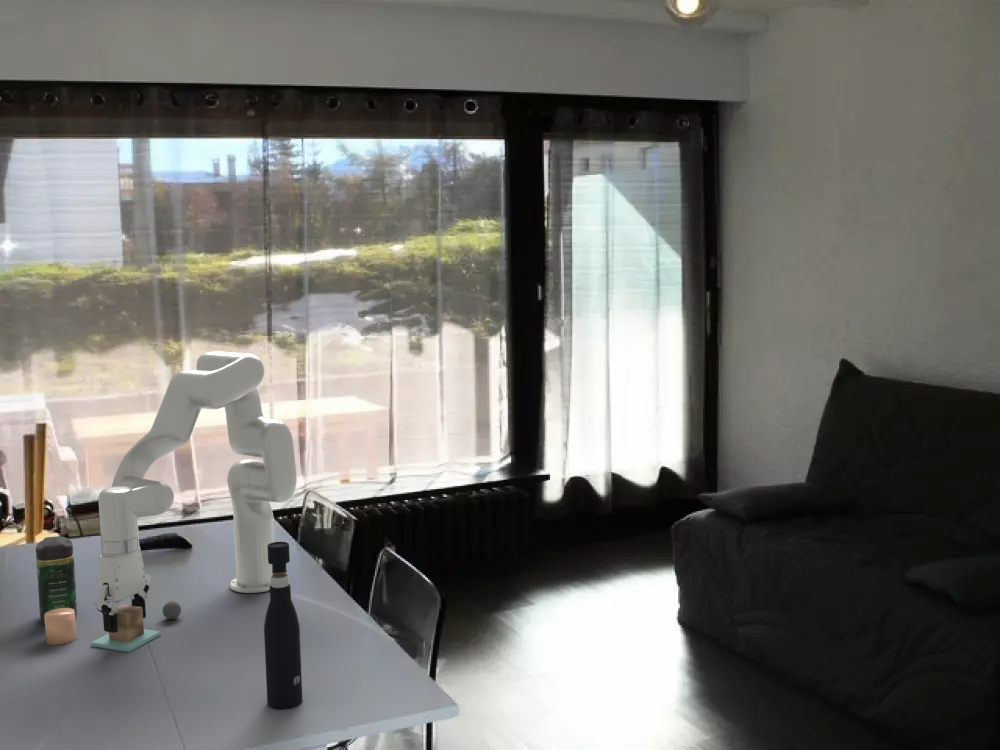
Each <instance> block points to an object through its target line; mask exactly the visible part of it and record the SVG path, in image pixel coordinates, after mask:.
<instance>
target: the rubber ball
mask: <svg viewBox="0 0 1000 750" xmlns="http://www.w3.org/2000/svg"><path fill="white" fill-rule="evenodd" d="M181 613H182V608H181V605H180V604H179V602H176V601H174V600H172V601H168V602H166V603H165V604H164V605H163V607H162V615H163V616H164V617H165V618H166V619H168V620H175V619H177V618H178V617H179V616H180V615H181Z"/></svg>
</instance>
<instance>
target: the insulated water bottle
mask: <svg viewBox="0 0 1000 750" xmlns="http://www.w3.org/2000/svg"><path fill="white" fill-rule="evenodd" d="M267 547H268V563H269V564H272V573H273V575H272V576H271V579H270V580H271V585H270V591H269V604H268V607H267V610H266V614H265V619H264V624H263V625H264V626H263V632H264V633H263V637H264V657H265V679H266V680H265V681H266V700H267V703H266V704H267V706H268V707H269V708H272V709H275V710H288V709H294V708H296V707H297V706H298V707H299V705H301V704H302V702H303V681H302V680H303V679H302V659H301V658H302V655H301V631H300V630H301V629H300V622H299V617H298V614H297V611H296V608H295V606H294V605H295V604H294V603H293V601H292V593H291V591H292V590H291V584H290V580H289V579H290V577H289V574H287V572H288V570H287V564H289V562H290V561H291V560H290V544H289V543H288V542H286V541H274V542H273V543H270V544H268V545H267Z"/></svg>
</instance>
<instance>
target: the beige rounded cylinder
mask: <svg viewBox="0 0 1000 750" xmlns="http://www.w3.org/2000/svg"><path fill="white" fill-rule="evenodd" d="M44 618H45V624H44V629H45V630H44V631H45V642H46V644H48V645H52V646H53V645H54V646H55V645H57V644H59V645H64V643H65V644H68V643H72V642H73V641H74V640H76V639H77V628H76V617H75V611H74V609H72V608H58V609H53V610H50V611H48V612H46V613H45V614H44ZM57 646H58V645H57Z"/></svg>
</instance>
